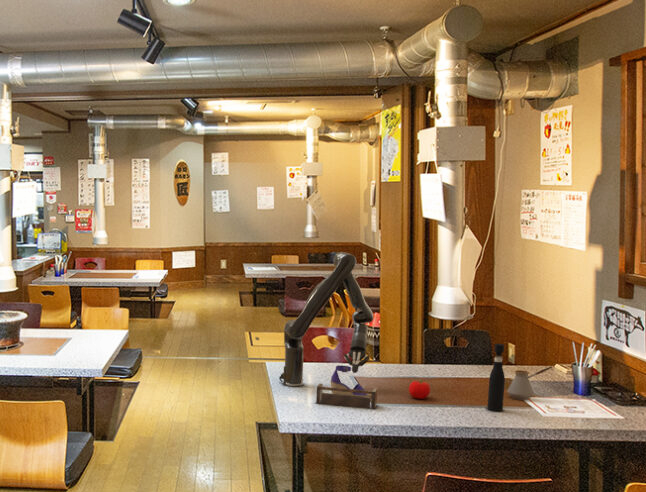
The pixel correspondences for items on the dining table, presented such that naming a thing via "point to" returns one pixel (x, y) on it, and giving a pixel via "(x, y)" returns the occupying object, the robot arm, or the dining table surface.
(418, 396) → the tomato
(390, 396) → the dining table surface
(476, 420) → the dining table surface
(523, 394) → the coffee pot
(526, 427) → the dining table surface
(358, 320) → the robot arm
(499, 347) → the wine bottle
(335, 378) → the sandal
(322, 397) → the shoe rack
